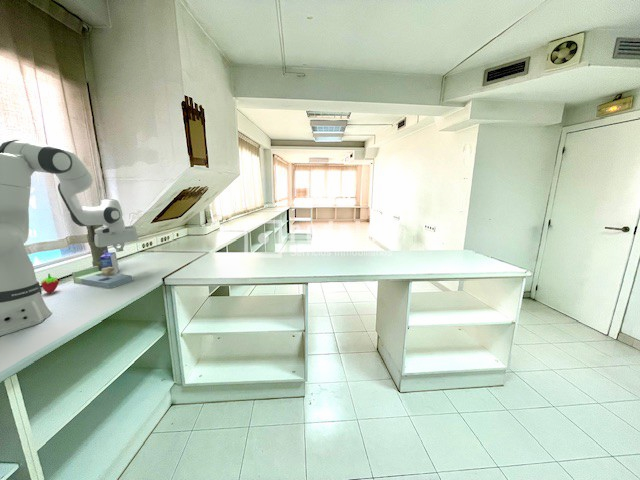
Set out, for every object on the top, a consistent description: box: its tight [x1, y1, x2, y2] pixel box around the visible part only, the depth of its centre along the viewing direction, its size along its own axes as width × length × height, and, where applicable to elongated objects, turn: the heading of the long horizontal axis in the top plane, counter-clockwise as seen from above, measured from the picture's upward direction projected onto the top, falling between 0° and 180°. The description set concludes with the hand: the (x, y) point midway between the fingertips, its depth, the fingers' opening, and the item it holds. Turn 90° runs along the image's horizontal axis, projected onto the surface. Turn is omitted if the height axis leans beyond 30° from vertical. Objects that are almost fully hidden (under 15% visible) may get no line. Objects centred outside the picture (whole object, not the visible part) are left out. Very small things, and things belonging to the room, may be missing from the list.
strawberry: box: [40, 273, 60, 294], centre depth 125 cm, size 6×7×10 cm
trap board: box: [71, 266, 134, 289], centre depth 140 cm, size 12×28×6 cm, turn 71°
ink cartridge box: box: [100, 250, 120, 273], centre depth 153 cm, size 10×6×14 cm, turn 25°
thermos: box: [85, 225, 109, 271], centre depth 156 cm, size 9×12×35 cm
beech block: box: [101, 267, 115, 276], centre depth 142 cm, size 4×4×4 cm
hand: (119, 251), depth 147 cm, fingers closed
